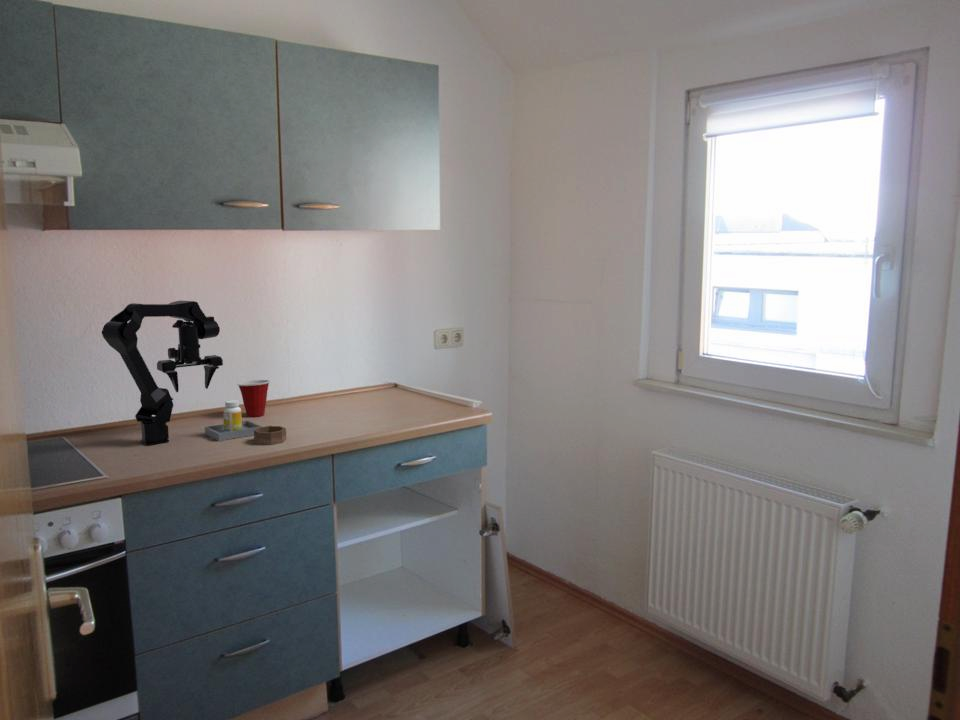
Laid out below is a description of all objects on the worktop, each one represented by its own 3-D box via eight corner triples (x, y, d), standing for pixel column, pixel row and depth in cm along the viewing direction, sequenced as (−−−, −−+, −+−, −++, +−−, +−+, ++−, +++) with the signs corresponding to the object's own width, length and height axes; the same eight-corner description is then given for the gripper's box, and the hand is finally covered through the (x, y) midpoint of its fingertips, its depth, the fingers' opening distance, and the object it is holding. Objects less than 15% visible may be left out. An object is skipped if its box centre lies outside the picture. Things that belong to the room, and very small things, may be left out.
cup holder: (263, 446, 224) (262, 434, 223) (250, 440, 230) (250, 429, 230) (290, 441, 230) (289, 429, 229) (277, 435, 236) (276, 424, 235)
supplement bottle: (222, 433, 235) (220, 403, 233) (226, 429, 240) (224, 399, 239) (240, 433, 235) (238, 402, 234) (243, 429, 241) (242, 399, 239)
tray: (219, 441, 229) (218, 433, 229) (205, 434, 238) (204, 426, 237) (262, 433, 238) (262, 426, 238) (247, 427, 247) (247, 420, 246)
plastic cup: (255, 410, 271) (254, 377, 269) (278, 414, 265) (276, 380, 263) (231, 416, 261) (230, 382, 260) (254, 420, 256) (252, 385, 254)
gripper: (208, 336, 249) (211, 383, 252) (149, 341, 237) (152, 390, 240) (222, 339, 241) (224, 388, 243) (161, 344, 229) (164, 395, 232)
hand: (192, 390), depth 240 cm, fingers open, 9 cm apart
